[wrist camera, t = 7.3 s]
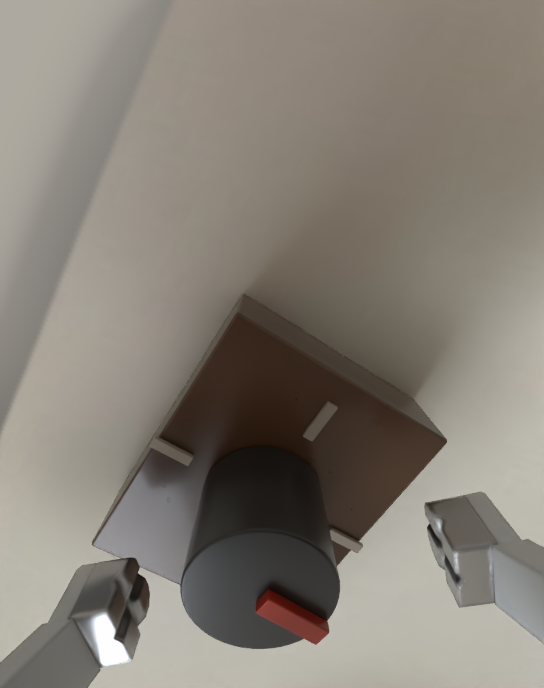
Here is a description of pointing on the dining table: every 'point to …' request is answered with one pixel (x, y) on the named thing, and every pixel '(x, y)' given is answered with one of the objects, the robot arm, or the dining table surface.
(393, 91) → the dining table surface
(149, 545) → the dial panel
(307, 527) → the dial knob
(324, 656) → the dining table surface
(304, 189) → the dining table surface
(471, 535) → the robot arm
